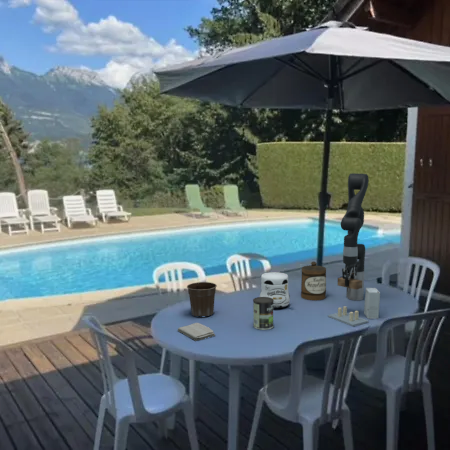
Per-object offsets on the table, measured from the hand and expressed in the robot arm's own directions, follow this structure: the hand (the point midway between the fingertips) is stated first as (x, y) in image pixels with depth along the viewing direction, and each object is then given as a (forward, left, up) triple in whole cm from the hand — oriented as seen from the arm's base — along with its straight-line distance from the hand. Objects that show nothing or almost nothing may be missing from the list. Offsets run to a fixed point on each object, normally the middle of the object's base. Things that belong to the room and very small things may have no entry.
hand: (349, 285), depth 265 cm
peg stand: (+7, -7, -16) cm, 19 cm away
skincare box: (+10, +7, -16) cm, 20 cm away
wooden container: (-34, +5, -16) cm, 38 cm away
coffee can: (-9, -50, -16) cm, 54 cm away
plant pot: (-43, -67, -16) cm, 82 cm away
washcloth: (-19, -84, -17) cm, 87 cm away
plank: (0, 0, -1) cm, 1 cm away
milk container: (-33, -25, -16) cm, 45 cm away
